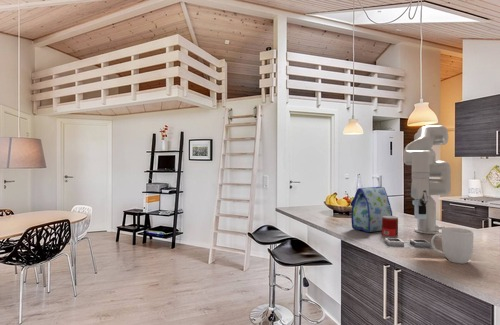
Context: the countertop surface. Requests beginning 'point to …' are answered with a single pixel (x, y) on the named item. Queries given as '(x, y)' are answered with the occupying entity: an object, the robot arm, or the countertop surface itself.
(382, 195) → the lunch bag
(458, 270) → the countertop surface
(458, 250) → the mug
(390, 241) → the panel
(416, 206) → the plug
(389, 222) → the canned food
